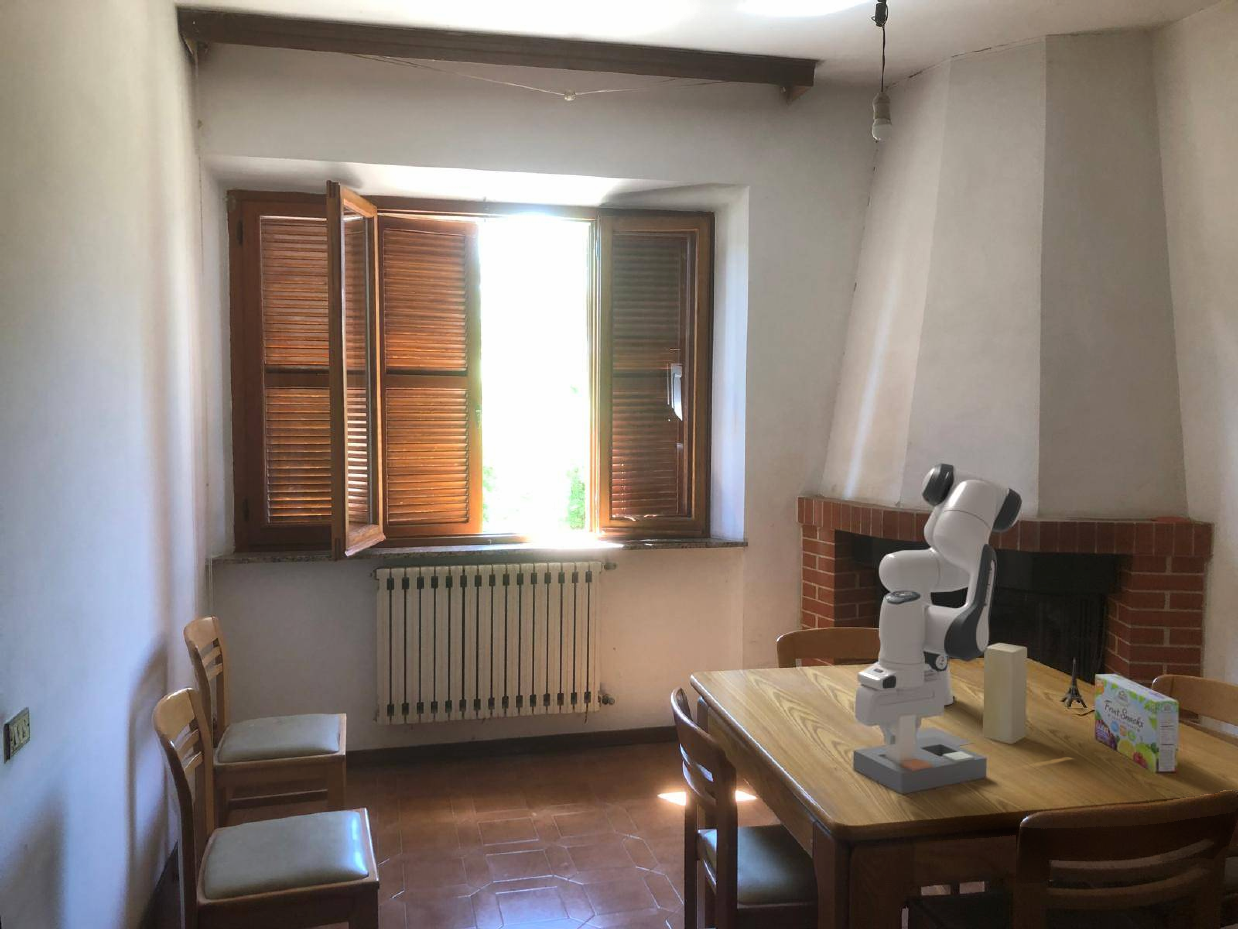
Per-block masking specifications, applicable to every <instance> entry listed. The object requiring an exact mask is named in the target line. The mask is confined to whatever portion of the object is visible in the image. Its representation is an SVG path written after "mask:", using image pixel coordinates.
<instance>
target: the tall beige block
mask: <svg viewBox="0 0 1238 929" xmlns="http://www.w3.org/2000/svg"><path fill="white" fill-rule="evenodd" d="M983 654H984V658H983V659H984V662H983V665H984V666H983V711H982V712H983V719H982V721H983V722H982V738H985V739H988V740H993V741H997V742H1001V743H1005V744H1010V745H1013V744H1015V743H1016V742H1018V741H1020V740H1022V739H1024V738H1026V729H1027V728H1026V723H1027V718H1026V716H1027V678H1028V677H1027V674H1028V673H1027V670H1028V667H1027V666H1028V647H1026V646H1021V645H1016V644H1015V645H1014V644H1008V643H1002V642H997V643H994V644H991V645H988V647H987V649H986V651H985V652H984V653H983Z"/></svg>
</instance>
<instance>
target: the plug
mask: <svg viewBox="0 0 1238 929" xmlns="http://www.w3.org/2000/svg"><path fill="white" fill-rule="evenodd" d="M915 725H916V714H911V715H904V716H899V722H895V723H892V728H889V729H890V732H891V734H892V735H895V744H891V745H887V744H885V745H886V748H885V759H887V760H889V761H891V762H893V763H895V764H900V762H904V761H910V760H915Z"/></svg>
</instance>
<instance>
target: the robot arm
mask: <svg viewBox="0 0 1238 929" xmlns="http://www.w3.org/2000/svg"><path fill="white" fill-rule="evenodd" d="M921 487H922V488H921V489H922V490H921V492H922V493H921V496H922V498H923V500H924V501H925V502H926V503H927V504H929V505H930V506H931V507H933V510H932V511H931V513H930V516H929V518H928V520H927V522H926V523H925V525H924V529H923V536H924V538H925V541H926V543H927V544H928V545H929V546H930V547H929V548H927V549H920V550H919V549H914V550H913V549H912V550H910V549H909V550H907V549H906V550H899V551H895V552H892V553H888V554H885V556H883V558H882V560H881V561H880V563H879V566H878V576H879V579H880V581H881V583H882V585H883V586H884V588H886V589H887V590H888V591H889V592H888V593H887V594H885V595H884V596H883V600H882V602H881V605H880V615H879V623H878V625H879V626H878V628H879V629H878V638H879V641H880V648H879V649H880V650H879V653H878V661H876V662H874V663H873V664H871V665H870V666H868V667H866V668H864V669H863V670H860V671H859V672H858V673H857V678H856V680H857V682H858V683H860V685H859V686H858V687H857V689H856V693H855V700H854V701H855V702H854V715H855V716H854V717H855V719H856V721H857V722H858V723H859V724H861V725H863V726H866V727H868V728H869V727H876V726H878V727H879V729H880V730H881V733H882V734H883V743H884V745H886V744H887V745H891V744H895V735H892V734H891V732H890V729H889V728H892V723H895V722H899V716H904V715H911V714H916V725H915V740H916V732H917V731H918V730H919V729H920V727H921V725H922V719H927V718H933V717H939V716H941V715H942V714H943V712H944V710H945V706H948V705H951V704H953V703H954V698H953V696H954V692H953V691H952V686H951V673H950V671H951V670H950V667H949V662H950V658H952V659H956V660H959V661H963V662H967V663H968V662H972V661H974V660H976V659H978V658H979V657H980V656H982V655H983V654H984V652H985V651H986V649H987V647H988V646H989V643H990V642H989V641H990V622H991V621H990V620H991V611H992V606H993V600H994V592H995V585H996V578H997V570H998V569H997V568H998V561H997V554H996V550H994V548H993V547H992V546H991V545H990V544H989V540H990V536H991V533H992V532H998V533H1004V532H1007V531H1009V530H1010V529H1011V527H1013V526H1014V525H1015V524H1016V523H1017V522H1018V520H1019V518H1020V516H1021V513H1022V506H1023V505H1022V503H1023V499H1022V497H1021V495H1020V494H1019V493H1018V492H1017V491H1015V490H1014V489H1012V488H1011V487H1006V486H1004V485H1002V484H1000V483H999V482H996V481H994V480H992V479H990V478H988V477H986V476H984V475H979V474H976V473H974V472H971V471H968V470H965V469H962V468H958V467H955V466H954V465H953V464H949V463H938V464H935V465H934V467H933V468H931V469H930V470H929V471H928V472H927V473H926V475H925V477H924V479H923V481H922V485H921ZM966 588H967V594H966V599H965V604H964V605H963V606H961V607H958V608H957V607H956V608H955V607H954V608H953V607H947V606H941V605H936V604H933V602H932V597H931V593H941V592H942V593H944V592H945V593H946V592H949V593H950V592H954V591H960V590H962V589H966Z"/></svg>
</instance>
